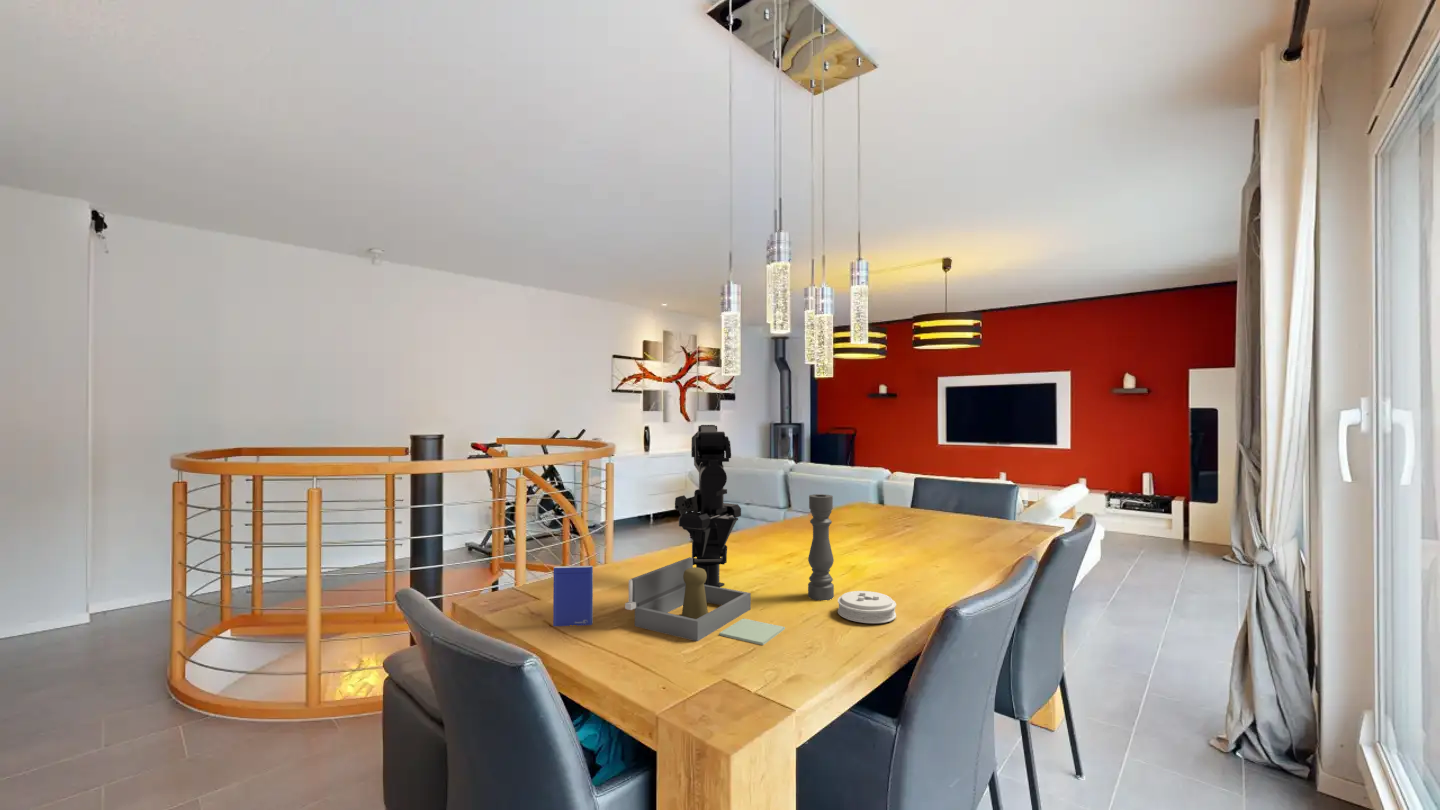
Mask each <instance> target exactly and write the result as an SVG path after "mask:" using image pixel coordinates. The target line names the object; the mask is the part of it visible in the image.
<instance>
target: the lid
mask: <svg viewBox="0 0 1440 810" xmlns="http://www.w3.org/2000/svg"><path fill="white" fill-rule="evenodd" d="M837 603H838V609H837V614H838V615H839V616H841V617H842V618H844V619H846V620H848V621H853V622H857V623H863V624H884V623H888V622H889V623H890V622H892V621H893V620H895V619H896V618H897V613H896V608H897V603H896V601H895V600H893V599H892V597H891V596H888V595H887V594H884V593H881V592H878V591H877V592H876V591H870V590H869V591H868V590H854V591H852V590H851V591H848V592H845V593H843V594H842V595H840V596H839V597H838V598H837Z"/></svg>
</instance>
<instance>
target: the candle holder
mask: <svg viewBox="0 0 1440 810" xmlns="http://www.w3.org/2000/svg"><path fill="white" fill-rule="evenodd" d="M833 500H834V497H833V495H831V494H822V493H820V494H818V493H817V494H816V493H815V494H809V496H808V509H809V511H810V513H811V516H812V518H811V519H810V520H809V523H810V524H811V525H812V540H811V544H810V549H809V553H808V556H807V557H808V559H807V560H808V561H807V562H808V564H809V566H810V567H811V571H812V573H811V574H810V576H809V577H808V579H809V581H810V582H808V583H807V584H808V585H807V597H808V598H809V599H811V600H814V601H818V600H820V602H821V600H827V601H831V600H833V599H834V598H835V597H834V596H835V595H834V593H835V592H834V591H835V588H834V584H833V583H832V582H833V581H834V580H833V577H832V575H831V574H830V572H831V568H832V566H833V564H834V555H833V551H832V546H831V542H830V525H831V524H832V523H833V521H832V520H831V519H830V517H831V514H832V512H833V511H832V510H833V509H834V507H833V506H834V505H833V503H834V501H833ZM833 597H834V598H833ZM832 598H833V599H832ZM830 599H831V600H830Z"/></svg>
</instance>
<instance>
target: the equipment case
mask: <svg viewBox="0 0 1440 810" xmlns="http://www.w3.org/2000/svg"><path fill="white" fill-rule="evenodd" d="M693 567H694V565H693V558H692V556H691V557H686V558H684V559H681V560H678V561H676V562H673V563H670V564H668V565H665V566H661V567H659V568H657V569H654V570H651V571H648V572H646V573H642V574H641V575H637V576H635V577H632V578H630V579H628V601H627V602H624V609H625V610H628V611H629V610H630V611H633V610H634V627H637V628H641V629H643V630H649V631H653V632H657V633H661V634H666V635H669V636H674V637H678V638H682V639H686V640H690V641H694V642H699V641H701V640H702V639H705V638H706V637H707V636H709V635H710V634H713V633H714V632H715V631H718V630H719V629H720V628H722V627H724V626H725V625H727V624H729V623H730V622H732V621H734V620H735V619H737V618H739V617H740V616H742V615H744V614H745V613H748V612H749V611H750V610H751V608H752V607H751V604H752V603H751V601H752V600H751V599H752V598H751V592H747V591H743V590H736V589H732V588H726V587H715V586H709V585H704V586H705V594H706V602H707V603H708V604H714V605H719V607H717V608H714V609H713V610H710V611H709V612H708V613H707V614H705V615H703V616H701V617H699V618H698V619H693V618H688V617H684V616H682V615H678V614H673V613H670V612H672V611H674V610H676V609H678V608H680V607H683V602H684V594H685V586H686V583H685V582H684V579H683V575H684V571H685V570H686V569H688V568H693Z"/></svg>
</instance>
